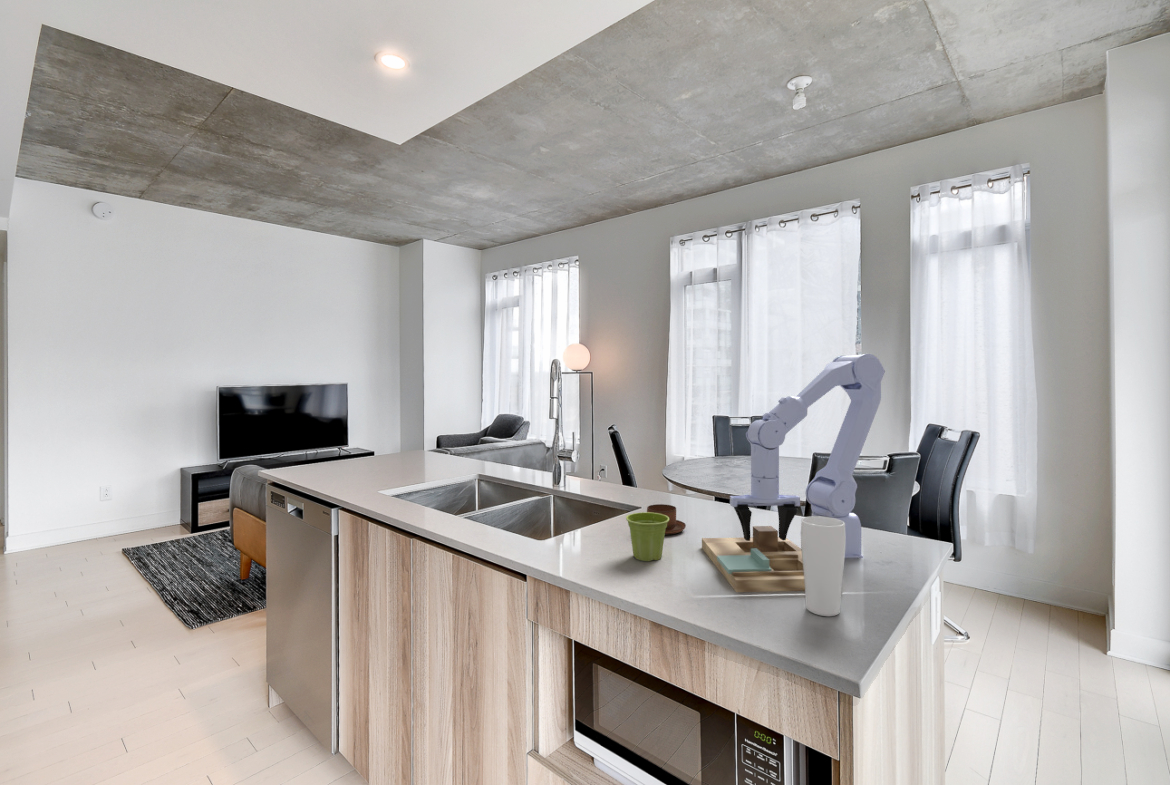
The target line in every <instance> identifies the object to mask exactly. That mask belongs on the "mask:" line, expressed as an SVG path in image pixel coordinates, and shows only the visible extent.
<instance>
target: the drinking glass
mask: <svg viewBox="0 0 1170 785" xmlns="http://www.w3.org/2000/svg"><path fill="white" fill-rule="evenodd" d="M800 521H801V524H800V545H801V546H800V548H801V550H802V561H803V572H804V583H805V591H804V593H805V608H806V609H807V610H808V611H809V612H810V613H812V614H814V615H817V616H819V617H820V616H822V617H836V616H838V615H839V614H840V613H841V606H842V605H841V604H842V603H841V600H842V589H843V588H842V587H843V578H844V570H845V569H844V568H845V560H846V558H845V543H846V536H845V523H844V522H843V521H841V520H839V519H835V518H830V517H822V516H812V515H811V516H806V517H803V518H801V520H800Z"/></svg>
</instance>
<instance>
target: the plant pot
mask: <svg viewBox="0 0 1170 785" xmlns="http://www.w3.org/2000/svg"><path fill="white" fill-rule="evenodd" d="M625 519H626V521H627V525H628V527H629V533H630V540H631V546H632V556H633V557H635V559H636V560H638V561H642V562H650V561H654V560H655V561H659V560H660V559H661V558H663V557H662V556H663V549H664V540H665V536H666V535H665V529H666V527H667V522H669V517H668V516H666V515H663V514H659V513H651V512H647V511H645V512H634V513H629V514H628V515H626V517H625Z"/></svg>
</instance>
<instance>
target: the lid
mask: <svg viewBox="0 0 1170 785" xmlns="http://www.w3.org/2000/svg"><path fill="white" fill-rule="evenodd" d="M717 560H718V561H719V563H720V564H721V565H722V566H723V568H724V569H725V570H726V571H727V572H728V574H732V572H753V571H771V568H770V567H769V559H768V558H767V557H766V556H765V555H764V554H762V553H761V552H760V551H759V550H758V549H757V548H751V555H727V556H717Z"/></svg>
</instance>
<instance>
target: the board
mask: <svg viewBox="0 0 1170 785" xmlns="http://www.w3.org/2000/svg"><path fill="white" fill-rule="evenodd" d="M701 548H702V550H703V551H704V553H705V554H706V555H707V557H709V559H710V560H711V561H712V563H713V564H714V566H715V567H716V568H717V570H719V572H720V573H721V574H722V575H723V577H724V578H725V579H726V581H727V582H728V584H730V586H731V587H732V588H733V590H734V591H735V592H736V593H755V592H756V593H760V592H764V593H765V592H802V591H804V592H805V583H804V572H803V561H802V550H801V547H799V546H798V545H796V544H795V543H794V542H792V541H791V540H790V539H788V538H787V537H786V540H781V539H780V538H779V536H778V552H761V553H762V554H764V555H765V556H766V557H767V558H768V559H769V567H770V568H771V571H753V572H732V574H728V572H727V571H726V570H725V569H724V568H723V566H722V565H721V564H720V563H719V561H718V560H717V556H727V555H751V548H753V536H752V537H751V536H750V541H746V540H745V539H744V536H743V537H707V538H706V537H705V538H703V537H702V538H701Z"/></svg>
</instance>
